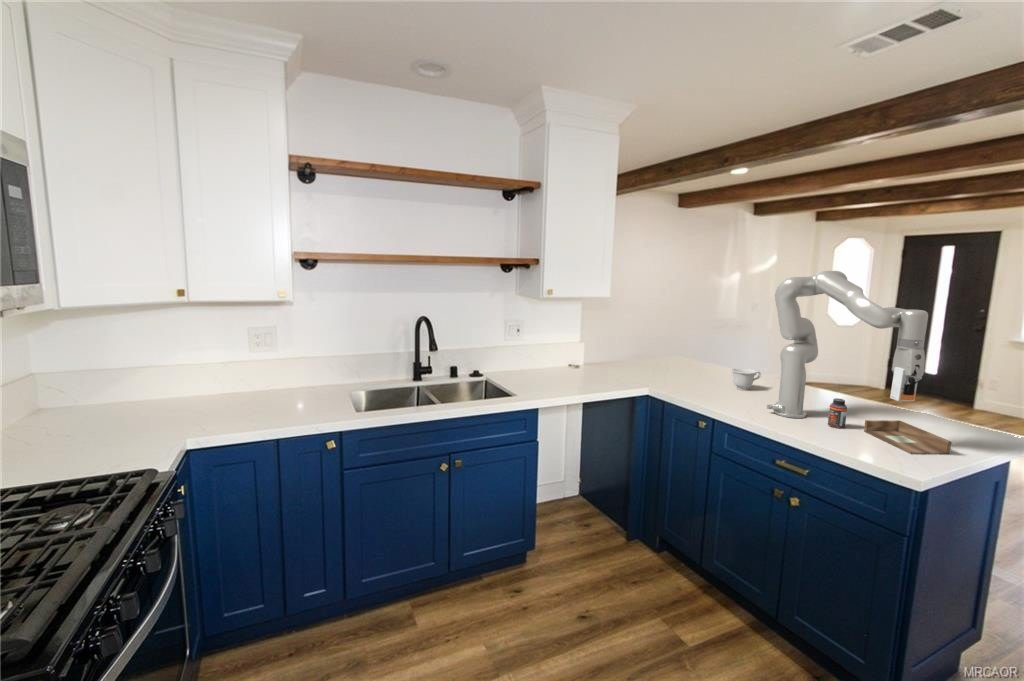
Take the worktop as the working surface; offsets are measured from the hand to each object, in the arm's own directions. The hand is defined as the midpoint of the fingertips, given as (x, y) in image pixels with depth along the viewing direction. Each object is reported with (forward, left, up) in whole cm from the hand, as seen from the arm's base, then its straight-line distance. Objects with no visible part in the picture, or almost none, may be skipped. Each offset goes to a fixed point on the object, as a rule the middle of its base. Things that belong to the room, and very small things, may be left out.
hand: (903, 392), depth 176 cm
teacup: (-21, +76, -19) cm, 81 cm away
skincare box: (0, 0, -3) cm, 3 cm away
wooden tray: (+2, -1, -19) cm, 19 cm away
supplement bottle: (-12, +17, -19) cm, 28 cm away
